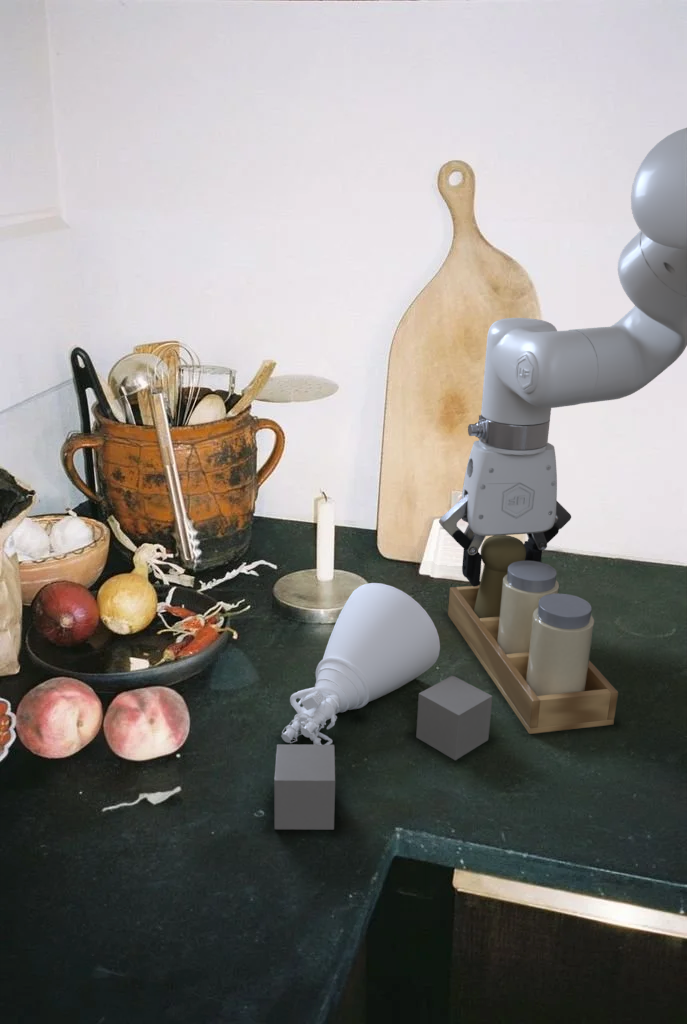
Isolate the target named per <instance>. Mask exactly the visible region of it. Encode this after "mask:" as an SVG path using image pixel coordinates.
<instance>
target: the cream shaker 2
mask: <svg viewBox="0 0 687 1024" xmlns="http://www.w3.org/2000/svg"><path fill="white" fill-rule="evenodd" d="M594 627H595V619H594V616H593V615H592V605H591V604H590V603H589V602H588V601H587V600H586V599H584V598H582V597H580V596H577V595H574V594H570V593H569V594H568V593H559V592H558V593H557V594H549V595H545V596H543V597H542V598H540V600H539V602H538V608H537V609H535V611H534V612H533V620H532V629H531V638H530V647H529V657H528V666H527V675H526V682H527V683H528V685H529V686H530V687H531V689H532V690H533V691H534V693H535V694H536V696H543V695H553V694H562V693H572V692H582V691H585V687H586V679H587V672H588V665H589V660H590V658H591V657H590V656H591V649H592V642H593V635H594Z"/></svg>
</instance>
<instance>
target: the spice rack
mask: <svg viewBox="0 0 687 1024" xmlns="http://www.w3.org/2000/svg"><path fill="white" fill-rule="evenodd" d="M479 586H480V584H479V585H478V586H472V585H466V586H451V587H449V595H448V608H447V616H448V617H449V619H450V621H451V622H452V623H453V624H454V626H455V628H456V629H457V631H458V632H459V633H460V635H461V636H462V638H463V640H464V641H465V642H466V643H467V645H468V647H469V648H470V650H471V652H473V654H474V655H475V657H476V658H477V661H478V662H479V663H480V664H481V666H482V667H483V669H484V670H485V671H486V673H487V675H488V676H489V677H490V679H491V680H492V682H493V683H494V685H495V686H496V688H497V689H498V690H499V692H500V694H501V695H502V696H503V698H504V700H506V702H507V704H508V705H509V707H510V708H511V710H512V711H513V713H514V714H515V716H516V717H517V719H518V720H519V722H520V723H521V724H522V726H523V727H524V729H525V731H527V733H528V734H529V735H532V734H542V733H551V732H558V731H569V730H577V729H586V728H595V727H603V726H614V723H615V718H616V717H615V716H616V709H617V704H618V697H619V691H618V690H617V689H616V688H615V687H614V686H613V685H612V683H610V682H609V680H608V679H607V678H606V677H605V676H604V675H603V674H602V673H601V671H600V670H599V669H598V668H597V667H596V666H595V665H594V663H593V662H592V661H591V660H590V659H589V665H588V672H587V679H586V687H585V691H582V692H572V693H562V694H553V695H543V696H536V694H535V693H534V691H533V690H532V689H531V687H530V686H529V685H528V683H527V682H526V675H527V666H528V657H529V652H526V653H515V654H505V653H504V651H503V650H502V648H501V647H500V646H499V644H498V643H497V637H498V626H499V617H489V618H480V619H479V618H478V616H477V615H476V614H475V612H474V608H475V603H476V599H477V595H478V590H479Z"/></svg>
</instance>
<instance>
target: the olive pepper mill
mask: <svg viewBox="0 0 687 1024" xmlns="http://www.w3.org/2000/svg"><path fill="white" fill-rule="evenodd" d="M480 554H481V556H482V561H481V562H482V563H483V564H484V565H483V569H482V573H481V576H480V584H479V585H480V586H479V590H478V595H477V599H476V603H475V608H474V612H475V614H476V615H477V616H478V618H479V619H480V618H489V617H499V616H500V605H501V594H502V584H503V578H504V576H505V575H507V570H508V566H509V565H510V564H512V563H514V562H517V561H525V558H526V548H525V546H524V542H523V541H522V540H521V539H519V538H517V537H515V536H512V535H497V536H488V537H487V538H485V539H484V540H483V542H482V544H481V546H480Z"/></svg>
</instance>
